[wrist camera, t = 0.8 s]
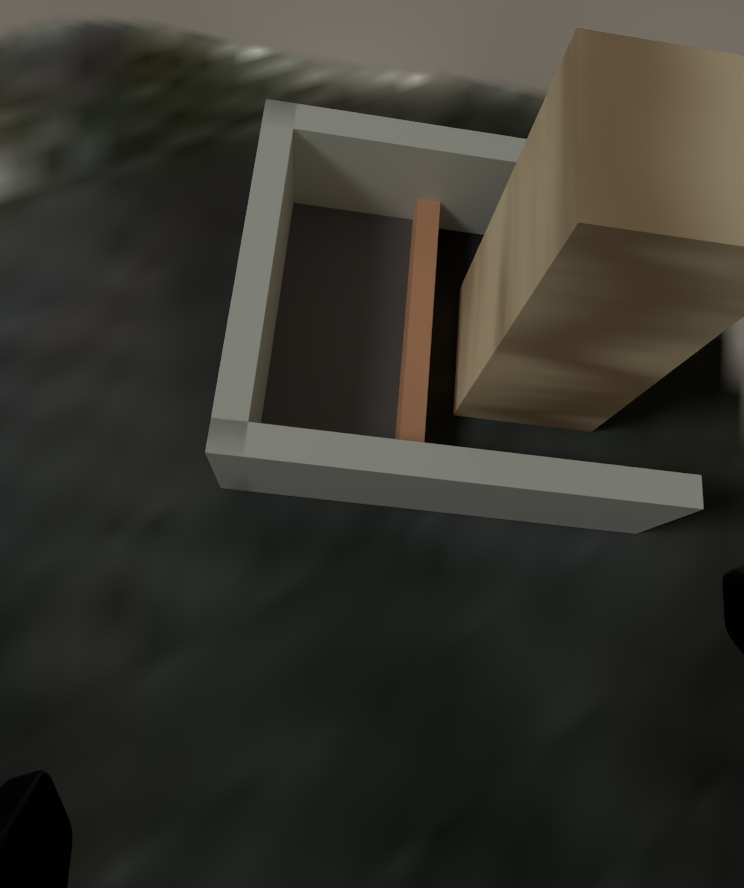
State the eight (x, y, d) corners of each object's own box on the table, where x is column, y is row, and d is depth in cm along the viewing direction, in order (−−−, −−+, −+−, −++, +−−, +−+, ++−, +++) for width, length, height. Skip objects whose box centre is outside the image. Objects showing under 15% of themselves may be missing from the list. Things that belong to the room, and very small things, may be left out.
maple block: (589, 307, 25) (793, 64, 15) (591, 431, 24) (820, 257, 13) (459, 289, 25) (576, 27, 15) (453, 415, 24) (578, 222, 13)
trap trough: (625, 233, 27) (680, 163, 23) (636, 533, 23) (703, 509, 19) (270, 181, 26) (266, 98, 22) (220, 488, 22) (204, 452, 18)
